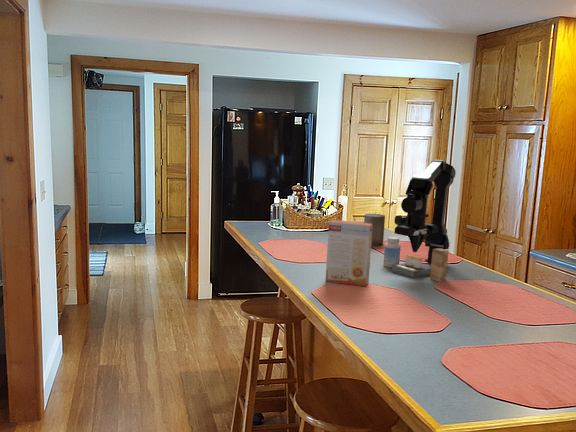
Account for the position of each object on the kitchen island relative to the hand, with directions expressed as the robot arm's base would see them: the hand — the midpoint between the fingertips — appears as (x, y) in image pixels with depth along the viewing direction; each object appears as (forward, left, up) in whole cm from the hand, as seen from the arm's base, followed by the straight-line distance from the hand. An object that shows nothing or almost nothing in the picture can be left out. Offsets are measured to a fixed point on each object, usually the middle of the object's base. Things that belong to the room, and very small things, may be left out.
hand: (414, 252), depth 196 cm
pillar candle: (-28, -46, -8) cm, 55 cm away
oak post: (-1, +11, -8) cm, 13 cm away
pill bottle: (-1, -11, -8) cm, 14 cm away
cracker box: (+32, -2, -8) cm, 33 cm away
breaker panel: (0, 0, -8) cm, 8 cm away
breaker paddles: (0, 0, -5) cm, 5 cm away
